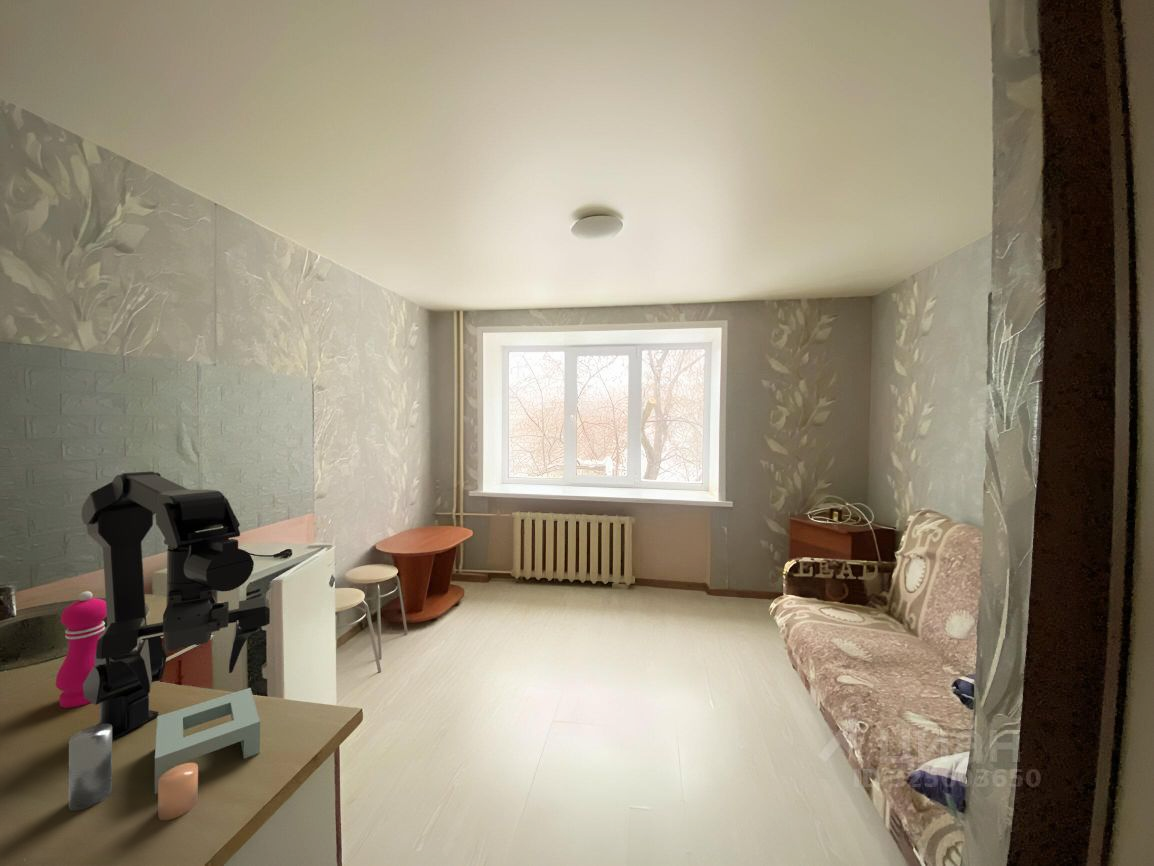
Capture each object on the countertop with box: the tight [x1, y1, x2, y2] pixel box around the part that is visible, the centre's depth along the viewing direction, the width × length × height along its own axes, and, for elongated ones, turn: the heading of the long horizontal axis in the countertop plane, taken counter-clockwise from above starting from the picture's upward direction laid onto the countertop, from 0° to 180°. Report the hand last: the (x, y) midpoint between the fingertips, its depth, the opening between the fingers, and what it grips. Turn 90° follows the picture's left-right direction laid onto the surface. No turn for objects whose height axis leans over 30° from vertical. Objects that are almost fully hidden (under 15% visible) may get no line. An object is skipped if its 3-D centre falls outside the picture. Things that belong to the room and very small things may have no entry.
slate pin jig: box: [154, 687, 261, 795], centre depth 70 cm, size 12×12×5 cm
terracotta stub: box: [157, 762, 199, 821], centre depth 60 cm, size 4×4×4 cm
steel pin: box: [68, 723, 113, 812], centre depth 61 cm, size 4×4×9 cm
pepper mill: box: [55, 590, 107, 709], centre depth 83 cm, size 7×7×20 cm
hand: (191, 681), depth 66 cm, fingers open, 9 cm apart
